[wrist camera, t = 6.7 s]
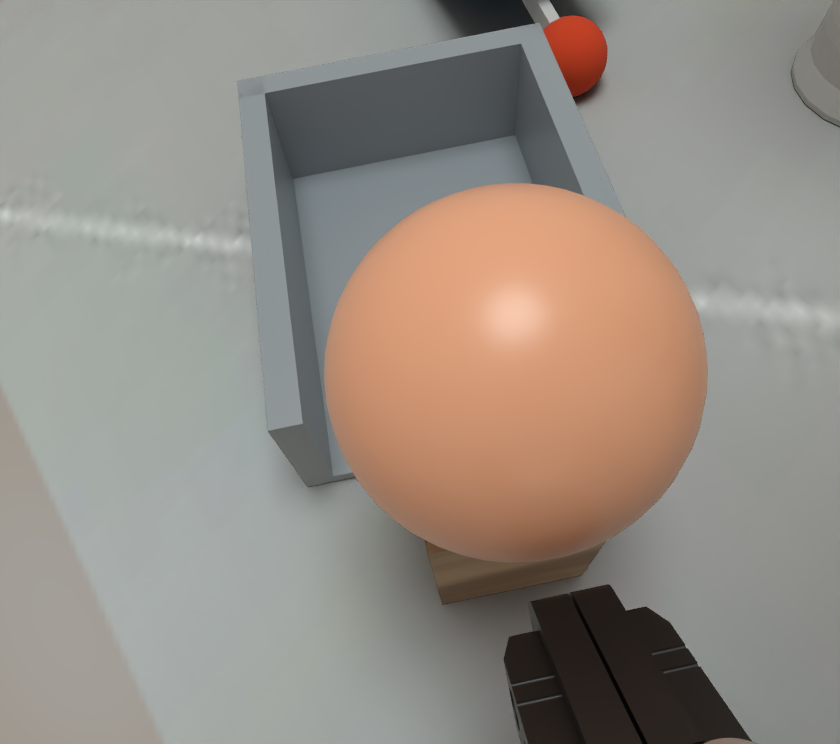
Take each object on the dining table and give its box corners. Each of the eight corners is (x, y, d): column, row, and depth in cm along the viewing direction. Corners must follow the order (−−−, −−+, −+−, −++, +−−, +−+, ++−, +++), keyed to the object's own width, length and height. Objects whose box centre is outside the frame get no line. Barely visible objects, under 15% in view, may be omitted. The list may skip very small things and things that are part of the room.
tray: (644, 417, 23) (683, 345, 19) (307, 487, 23) (267, 430, 19) (530, 124, 30) (539, 22, 26) (272, 175, 30) (237, 81, 26)
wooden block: (581, 574, 21) (625, 512, 15) (442, 604, 21) (428, 554, 15) (542, 444, 23) (566, 342, 17) (415, 471, 23) (393, 378, 17)
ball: (568, 282, 18) (617, 46, 12) (714, 522, 15) (890, 372, 8) (320, 373, 17) (231, 173, 11) (416, 646, 14) (368, 584, 8)
